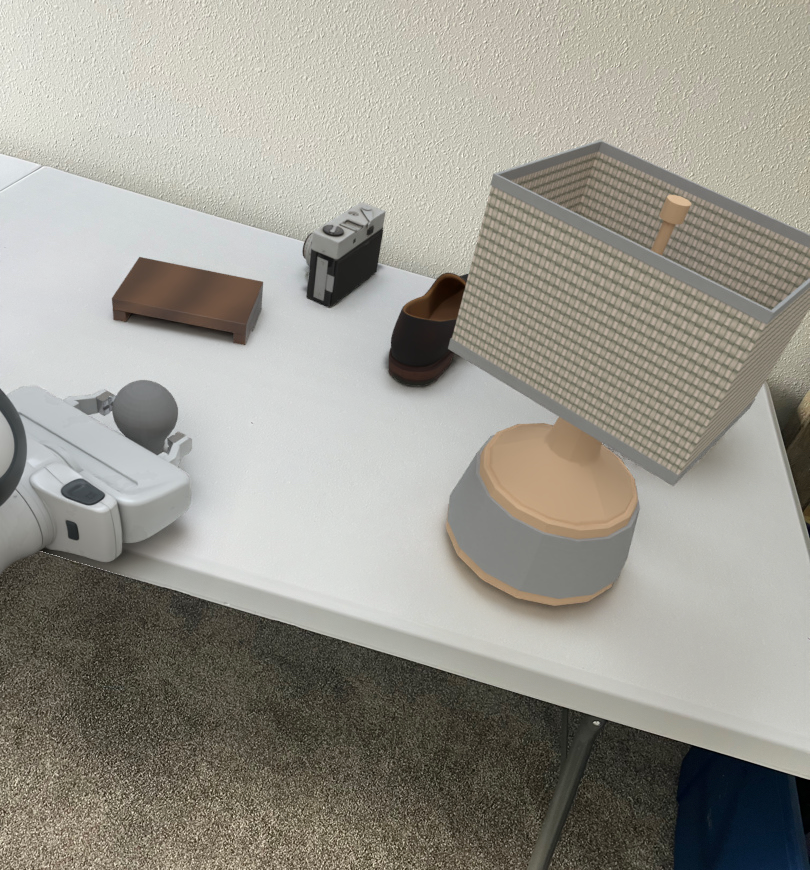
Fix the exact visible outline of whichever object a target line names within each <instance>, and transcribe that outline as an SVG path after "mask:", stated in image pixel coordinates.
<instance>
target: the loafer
mask: <svg viewBox="0 0 810 870" xmlns="http://www.w3.org/2000/svg"><path fill="white" fill-rule="evenodd" d="M468 275H469V273H465V274H462V275H458V274H456V273H453V272H444V273H441V274H440V275H439V276H438V277H437V278H436V279H435V280H434V282H433V283H432V284H431V286H430V287H429V289H428V290H427V291H426V292H425V293H424V294H422V296H419V297H416V298H413V299H411V300H410V301H408V302H406V303H405V304H404V305H403V306H402V308H401V310H400V312H399V315H398V316H397V319H396V322H395V324H394V327H393V330H392V333H391V338H390V349H389V351H388V367H387V369H388V373H389V375H390V376H391V378H393V379H394V380H396V381H397V382H399V383H400V384H402V385H406V386H411V387H412V386H413V387H424V386H428V385H431V384H433V383H434V382H436V381H437V380H438V379H439V378H440V377H441V376H442V375H443V373H444V372H445V371H446V370H447V369H448V368H449V367H450V366H451V362H452V360H453V357H454V355H457V354H456V353H454V352H452V351H451V350H449V349H448V346H449V343H450V339H451V338H452V336H453V333H454V329H455V325H456V321H457V317H458V313H459V309H460V306H461V302H462V298H463V294H464V290H465V286H466V283H467V279H468Z"/></svg>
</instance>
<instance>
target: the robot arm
mask: <svg viewBox="0 0 810 870" xmlns="http://www.w3.org/2000/svg"><path fill="white" fill-rule="evenodd" d="M115 397H116V394H114V393H112V392H110V391H109V390H107V389H105V388H102V389H100V390H98V391H97V392H95V393H93V394H82V395H81V394H80V395H71V396H70V395H69V396H67V397H65V398H64V399H62V398H60V397H58V396H56V395H54V394H53V393H51V392H50V391H48V390H46V389H44V388H43V387H40V386H39V385H23V386H20V387H18V388H15V389H14V390H12V391H11V392H10V393H8V394H6V393H5V392H4V390H3V389H2V388H0V576H2V574H3V573H4V572H5V570H6V569H7V568H9V566H11V565H13V564H14V563H15V562H17V561H20V560H22V559H25V558H28V557H32V556H33V555H35V554H37V553H38V552H40V551H41V550H43V549H44V548H45V549H48V550H51V551H57V552H63V553H69V554H72V555H76V556H80V557H83V558H88V559H90V560H93V561H97V562H101V563H111V562H112V561H114V560H115V559H117V558H118V557H119V556H120V555H121V554H122V552H123V543H124V544H125V543H126V544H134V543H139V542H142V541H144V540H147V539H149V538H150V537H152V536H154V535H155V534H157V533H159V532H161V531H162V530H163V529H165V528H166V527H168V526H169V525H171V524H172V523H173V522H175V521H176V520H177V519H179V518H180V517H182V516H183V515H184V514H185V513H186V512H187V511H188V510H189V508H190V506H191V503H192V479H191V475H190V474H189V473H188V472H187V471H185V470H183V469H182V468H180V462H181V459H183V458H184V457H186V456H187V455H188V454H189V453H190V452H191V451H192V449H193V439H192V438H191V437H190V436H188V435H186V434H184V433H183V432H181V431H177V432H175V433H174V434H171V435H169V436H168V437H167V438H166V443H167V446H168V447H167V453H166V452H165V451H162V453H161V454H159V455H158V456H157V455H156V454H154V453H152V452H151V451H149V450H147V449H145V448H144V447H142V446H140V445H139V444H137V443H135V442H133V441H132V440H130V439H128V438H127V437H125V436H124V435H123V434H122V433H121V432H118V431H117V430H114V429H112V428H111V427H109V426H108V425H107V424H104V423H102V422H101V421H99V420H98V419H96V418H94V417H92V416H90V415H95V414H100V415H102V416H103V417H106V416H107V415H109V414H110V413H111V412H112V406H113V402H114V399H115Z"/></svg>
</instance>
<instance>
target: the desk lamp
mask: <svg viewBox="0 0 810 870" xmlns="http://www.w3.org/2000/svg"><path fill="white" fill-rule="evenodd" d="M489 185H490V191H489V194H488V197H487V201H486V206H485V210H484V214H483V218H482V220H481V225H480V229H479V233H478V237H477V240H476V243H475V249H474V252H473V257H472V260H471V264H470V268H469V271H468V274H469V275H468V279H467V283H466V286H465V290H464V294H463V298H462V302H461V306H460V309H459V313H458V317H457V321H456V325H455V329H454V333H453V336H452V338H451V339H450V343H449V346H448V349H449V350H451V351H452V352H454V353H456V354H455V355H457V356H459V357H461V358H462V359H464V360H465V361H467V362H469V363H470V364H472V365H474V366H475V367H477V368H478V369H480V370H481V371H483V372H485V373H487V374H488V375H490V376H492V377H493V378H494V379H497V380H498V381H499V382H502V384H505V385H506V386H508V387H510V388H511V389H513V390H514V391H516V392H518V393H520V394H521V395H522V396H524V397H526V398H527V399H529V400H531V401H532V402H534V403H536V404H538V405H539V406H541V407H543V408H544V409H546V410H547V411H549V412H551V413H552V414H554V415H556V416H557V419H556V421H555V422H554V424H550V423H547V422H546V423H545V422H541V423H540V422H539V423H537V422H536V423H517V424H514V425H512V426H509V427H506V428H504V429H502V430H499V431H496V432H495V433H494V434H492V435H490V436H489V437H488V438H487V440H486V441H485V442H484V443H483V445H482V446H481V447H480V448H479V450H477V452H476V453H475V455H474V457H473V458H472V460H471V461H470V463H469V464H468V466H467V468H466V469H465V471H463V472H464V473H463V474H462V475H461V477H460V479H459V480H458V482H457V483H456V485H455V486H454V488H453V490H452V491H451V493H450V495H449V500H448V504H447V513H446V524H445V526H446V527H445V529H446V532H447V535H448V536H449V539H450V541H451V543H452V546H453V548H454V551H455V553H456V556H457V557H459V558H460V559H461V560H462V561H463V562H464V564H465V565H466V566H468V568H469V569H471V571H472V572H474V574H476V575H477V577H479V578H480V580H482V581H484V582H485V583H487V584H489V585H491V586H493V587H495V588H497V589H499V590H500V591H502V592H503V593H506V594H508V595H509V596H512V597H513V598H516V599H519V600H523V601H527V602H528V601H529V602H534V603H539V604H543V605H549V606H553V607H556V606H565V605H572V604H573V605H574V604H580V603H581V604H582V603H587V602H589V601H591V600H593V599H595V598H596V597H598V596H599V595H601V594H603V593H604V592H607V590H609V589H611V588H612V587H613V585H614V583H615V582H616V581H618V578H619V577H620V575H621V573H622V570H623V568H624V566H625V564H626V561H627V560H628V557H629V554H630V549H631V545H632V541H633V538H634V533H635V530H636V525H637V521H638V518H639V513H640V510H641V505H640V499H639V493H638V487H637V483H636V479H635V478H634V476H633V475H632V473H631V471H630V470H629V469H628V467H627V466H626V465H625V463H624V461H623V460H622V459H621V458H620V457H619V456H618V455H617V454H616V453H618V454H619V455H621V456H622V457H624V458H626V459H628V460H629V461H631V462H633V463H634V464H636V465H637V466H639V467H641V468H642V469H644V470H646V472H647V471H648V472H649V473H650V474H652V475H654V476H655V477H657V478H658V479H660V480H662V481H664V482H666V483H667V484H669V485H670V486H672V487H674V486H675V485H676V484H677V483H678V482H679V481H680V480H681V479H682V478H683V477H684V476H685V475H686V474H687V473H688V472H689V471H690V470H691V469H692V468H693V467H694V466H695V465H696V464H697V463H698V462H699V461H700V460H701V459H702V458H703V457H704V456H705V455H706V453H708V452H709V451H710V450H711V448H713V447H714V445H716V444H717V442H719V441H720V440H721V438H722V437H724V436H725V434H726V433H727V432H728V431H729V430H730V429H731V428H732V427H733V426H734V425H735V424H737V422H738V421H739V420H740V419H741V418H742V417H744V415H745V414H746V413H747V412H748V411H749V410H750V409H751V408H752V406H753V404H754V402H755V401H756V397H757V396H758V394H759V392H760V391H761V389H762V388H763V386H764V385H765V383H766V381H767V380H768V378H769V376H770V374H771V373H772V371H773V370H774V368H775V366H776V364H777V363H778V361H779V360H780V358H781V356H782V354H783V353H784V352H785V350H786V348H787V347H788V345H789V343H790V342H791V340H792V338H793V337H794V335H795V333H796V332H797V330H798V329H799V327H800V325H802V322H803V320H804V319H805V317H806V315H807V314H808V312H809V310H810V233H808V232H805V231H803V230H801V229H799V228H798V227H794V226H792V225H790V224H788V223H786V222H783V221H781V220H779V219H777V218H775V217H773V216H771V215H768V214H765V212H764V213H763V212H761V211H759V210H757V209H755V208H753V207H750V206H748V205H746V204H744V203H741V202H740V201H738V200H735V199H732V198H730V197H728V196H726V195H723V194H721V193H719V192H717V191H715V190H713V189H711V188H708V187H706V186H705V185H704V186H703V185H702V184H699V183H697V182H695V181H692V180H691V179H688V178H687V177H684V176H682V175H679V174H677V173H675V172H672V171H671V170H668V169H666V168H664V167H662V166H659V165H657V164H655V163H652V162H650V161H648V160H646V159H644V158H642V157H639V156H638V155H636V154H634V153H630V152H628V151H626V150H624V149H621V148H619V147H617V146H615V145H613V144H611V143H609V142H606V141H604V140H602V139H599V140H596V141H592V142H589V143H586V144H583V145H580V146H576V147H573V148H571V149H567V150H564V151H561V152H557V153H555V154H552V155H548V156H544V157H542V158H539V159H535V160H532V161H528V162H525V163H523V164H519V165H516V166H514V167H509V168H506V169H503V170H500V171H497V172H495V173H492V177H491V181H490V184H489ZM607 447H608V448H607ZM609 448H610V449H611V450H610V449H609ZM612 450H613V451H614V452H616V453H614V452H613V451H612Z"/></svg>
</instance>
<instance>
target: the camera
mask: <svg viewBox="0 0 810 870" xmlns="http://www.w3.org/2000/svg"><path fill="white" fill-rule="evenodd" d="M386 213H387V212H386V210H384V209H382V208H378V207H376V206H374V205H371V204H368V203H366V202H364V201H363V202H362V201H361V202H359V203H357V204H355V205H354V206H352V207H350V208H349V209H347V210H345V211H344V212H343V213H341V214H339V215H338V216H336V217H334V218H333V219H331V220H330V221H328V222H327V223H325V224H323V225H321V226H320V227H318V228H317V229H315V230H313V231H312V232H311V233H309V234H308V235H307V237H306V238H305V240H304V242H303V246H302V251H301V252H302V256H303V259H305V262H306V265H307V266H308V267H309V269H308V277H307V278H308V279H307V287H306V298H307V299H308V300H311V301H313V302H315V303H317V304H319V305H322V306H324V307H326V308H329V309H330V308H331V307H333V306H335V305H336V304H337V303H338V302H340V301H341V300H342V299H344V298H345V297H346V296H347V295H349V294H350V293H352V292H353V291H354V290H355V289H356V288H357V287H360V285H361V284H363V283H364V282H365V281H367V280H368V279H369V278H371V277H372V276H373V275H375V274H376V273H377V272H378V265H379V259H380V253H381V248H382V241H383V236H384V224H385V217H386Z"/></svg>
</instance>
